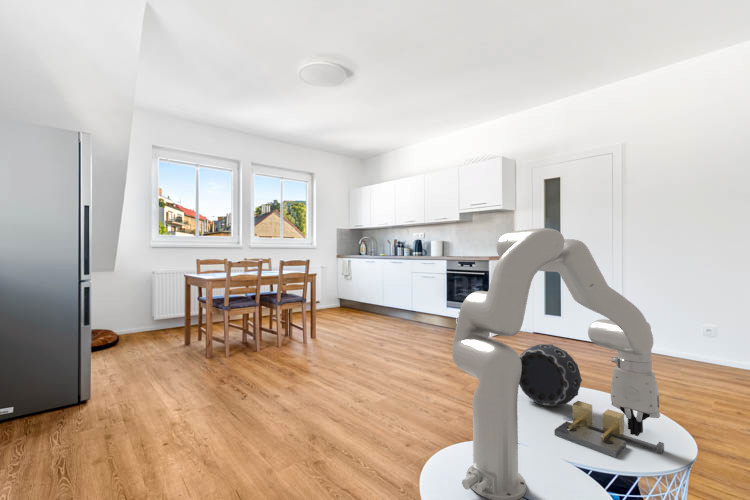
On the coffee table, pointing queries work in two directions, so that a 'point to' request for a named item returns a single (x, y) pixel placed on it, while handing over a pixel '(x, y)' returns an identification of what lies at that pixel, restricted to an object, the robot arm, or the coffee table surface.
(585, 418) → the dividers bar
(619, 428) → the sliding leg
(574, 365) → the dark grey wheel
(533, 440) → the coffee table surface
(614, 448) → the flange plate
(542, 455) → the coffee table surface
